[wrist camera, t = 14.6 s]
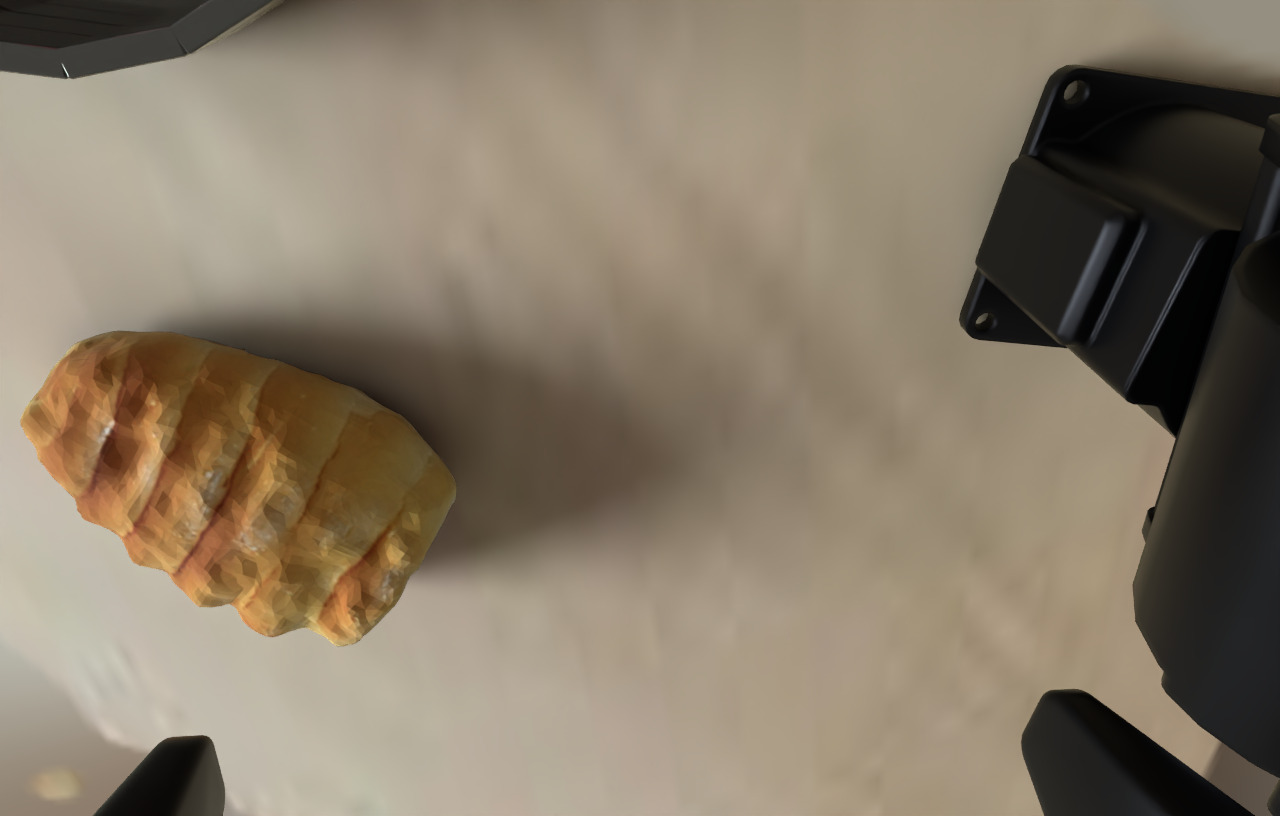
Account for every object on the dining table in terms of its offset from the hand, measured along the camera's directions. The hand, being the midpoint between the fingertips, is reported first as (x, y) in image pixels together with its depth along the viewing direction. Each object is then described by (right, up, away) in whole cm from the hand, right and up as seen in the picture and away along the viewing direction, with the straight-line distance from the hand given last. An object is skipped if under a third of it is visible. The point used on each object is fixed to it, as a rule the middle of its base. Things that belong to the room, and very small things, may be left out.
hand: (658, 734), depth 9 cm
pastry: (-10, +2, +13) cm, 16 cm away
